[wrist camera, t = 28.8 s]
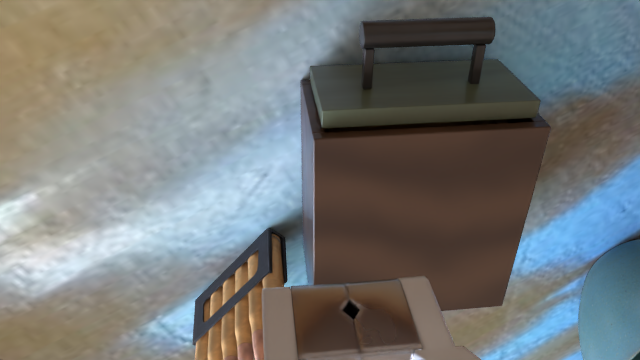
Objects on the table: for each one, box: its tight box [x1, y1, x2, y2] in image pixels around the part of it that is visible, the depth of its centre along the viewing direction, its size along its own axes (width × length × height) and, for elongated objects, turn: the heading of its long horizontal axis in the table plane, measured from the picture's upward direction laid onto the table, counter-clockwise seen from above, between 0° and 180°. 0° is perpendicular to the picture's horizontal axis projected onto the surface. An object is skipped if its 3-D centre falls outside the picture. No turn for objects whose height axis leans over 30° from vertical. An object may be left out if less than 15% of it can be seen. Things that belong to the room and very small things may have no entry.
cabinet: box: [301, 80, 551, 311], centre depth 40 cm, size 16×15×9 cm
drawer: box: [310, 17, 540, 133], centre depth 38 cm, size 19×13×7 cm
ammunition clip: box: [193, 229, 287, 360], centre depth 43 cm, size 11×2×12 cm, turn 138°
